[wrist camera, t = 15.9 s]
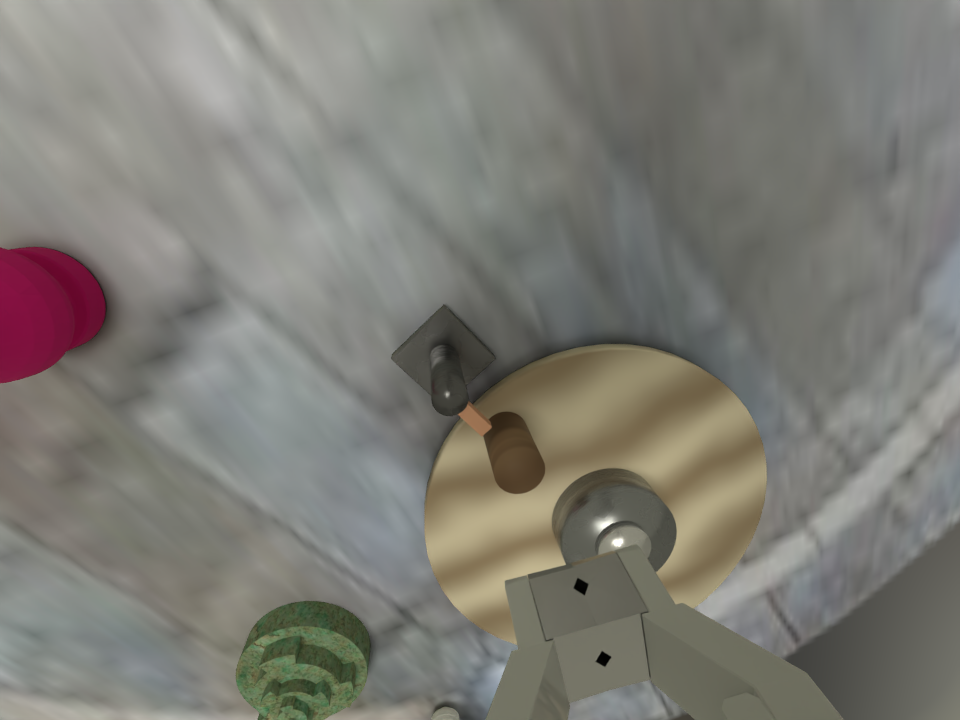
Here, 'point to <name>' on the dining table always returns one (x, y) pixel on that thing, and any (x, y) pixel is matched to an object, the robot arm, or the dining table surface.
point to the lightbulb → (445, 714)
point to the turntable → (586, 448)
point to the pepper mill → (44, 309)
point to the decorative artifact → (304, 662)
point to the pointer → (446, 365)
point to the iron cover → (612, 517)
